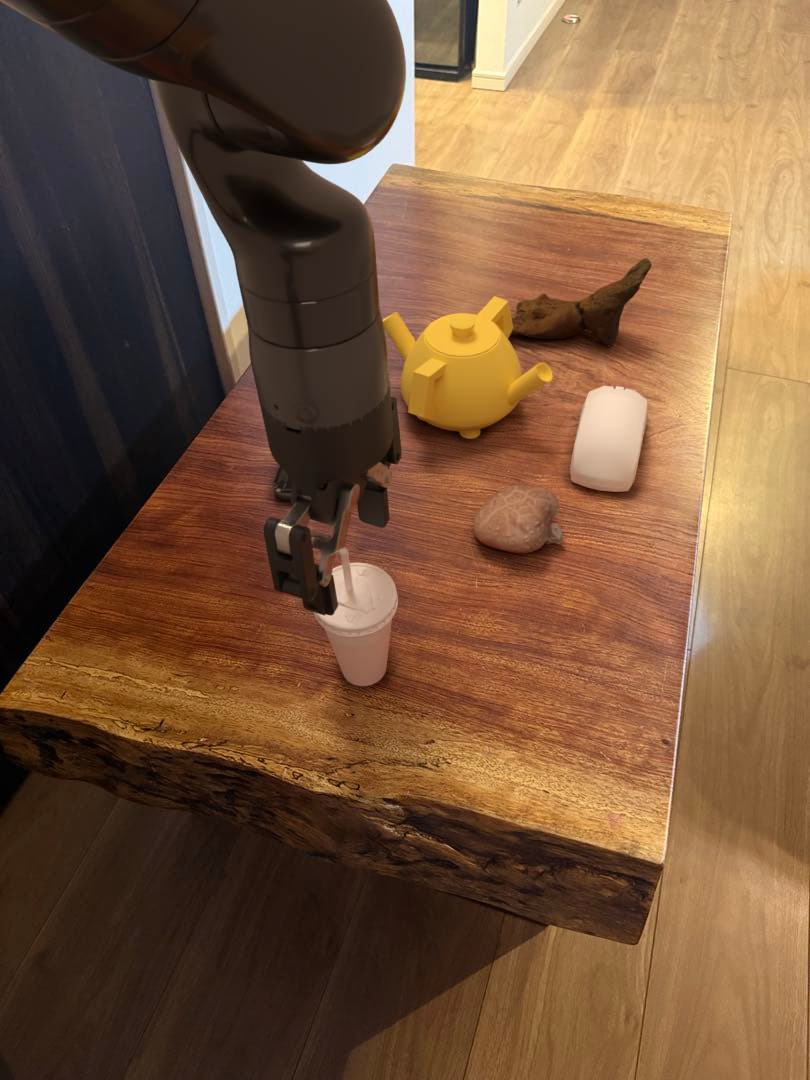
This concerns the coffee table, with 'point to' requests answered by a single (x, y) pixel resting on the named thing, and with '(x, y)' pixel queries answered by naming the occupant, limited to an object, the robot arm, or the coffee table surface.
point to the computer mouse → (609, 439)
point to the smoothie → (361, 620)
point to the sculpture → (580, 310)
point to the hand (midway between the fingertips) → (349, 563)
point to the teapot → (464, 369)
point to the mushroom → (518, 519)
